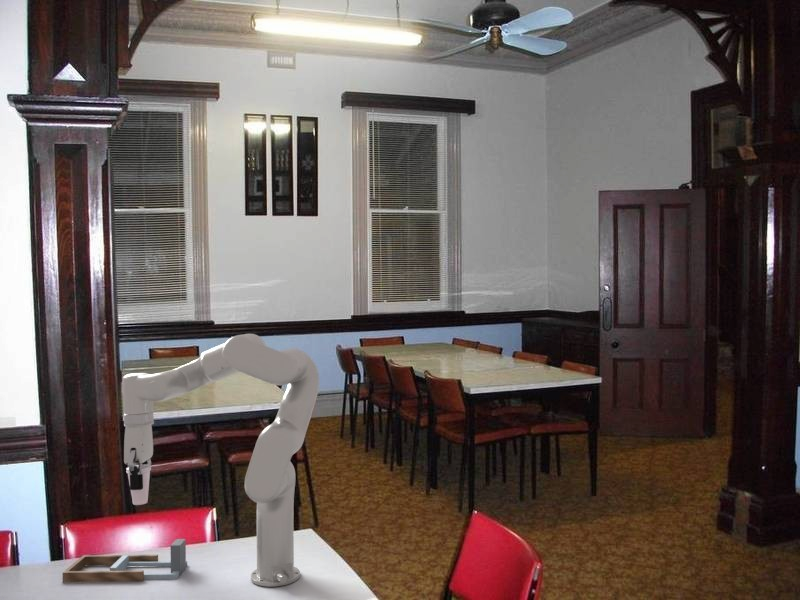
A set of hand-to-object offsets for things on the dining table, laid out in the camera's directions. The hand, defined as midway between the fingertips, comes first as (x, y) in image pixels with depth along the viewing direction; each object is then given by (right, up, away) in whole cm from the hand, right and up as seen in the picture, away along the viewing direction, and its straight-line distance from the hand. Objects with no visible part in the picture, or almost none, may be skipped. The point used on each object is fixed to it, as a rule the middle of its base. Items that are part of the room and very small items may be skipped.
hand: (141, 485), depth 194 cm
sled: (+3, -23, -1) cm, 23 cm away
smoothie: (0, -5, 0) cm, 5 cm away
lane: (-7, -23, -1) cm, 24 cm away
